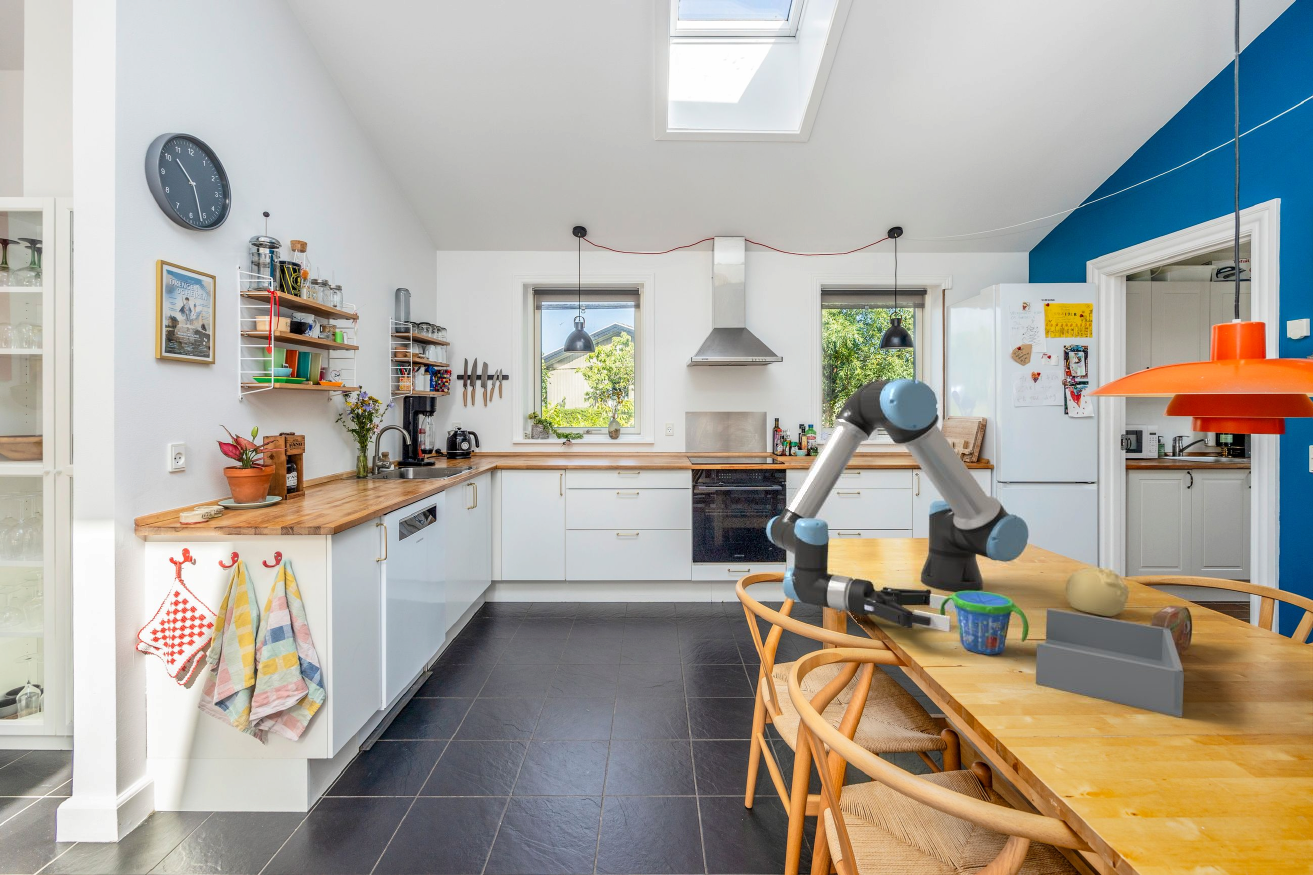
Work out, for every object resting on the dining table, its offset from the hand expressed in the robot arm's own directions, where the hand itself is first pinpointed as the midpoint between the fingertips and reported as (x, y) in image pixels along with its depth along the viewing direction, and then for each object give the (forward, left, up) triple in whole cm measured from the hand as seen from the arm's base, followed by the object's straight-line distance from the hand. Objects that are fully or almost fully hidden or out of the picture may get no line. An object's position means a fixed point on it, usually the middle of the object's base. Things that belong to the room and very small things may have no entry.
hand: (957, 615), depth 121 cm
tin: (-23, +34, -6) cm, 42 cm away
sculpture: (-43, +22, -6) cm, 49 cm away
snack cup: (-1, +4, -6) cm, 8 cm away
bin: (-1, +24, -6) cm, 25 cm away
